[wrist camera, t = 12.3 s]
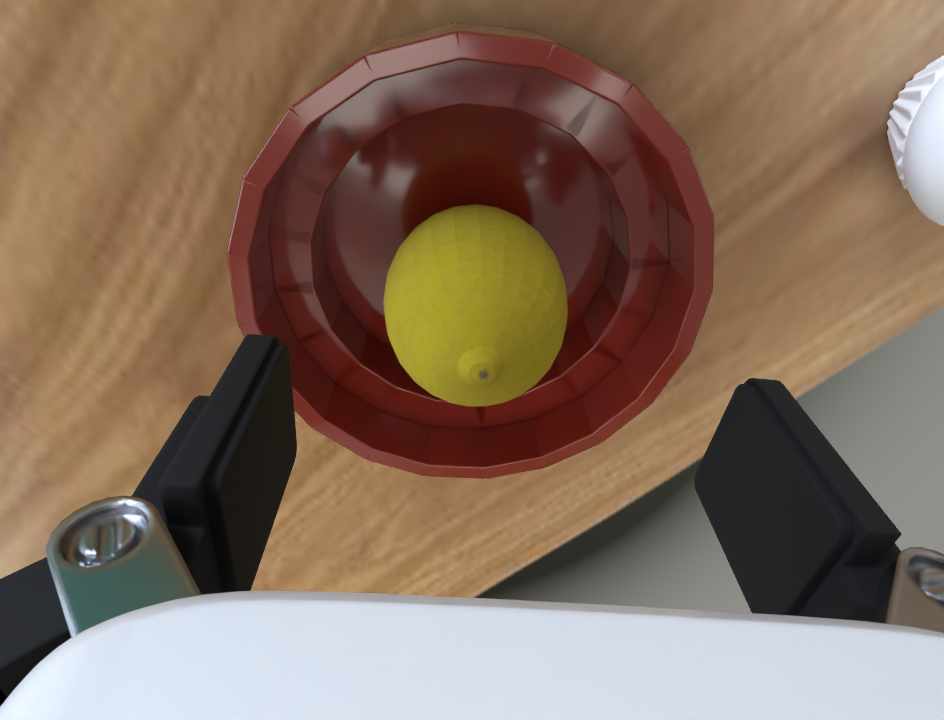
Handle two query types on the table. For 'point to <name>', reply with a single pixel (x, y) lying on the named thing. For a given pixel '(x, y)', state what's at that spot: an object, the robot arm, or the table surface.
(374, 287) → the bowl
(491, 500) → the table surface
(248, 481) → the robot arm
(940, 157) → the muffin
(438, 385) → the lemon
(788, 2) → the table surface
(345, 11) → the table surface
